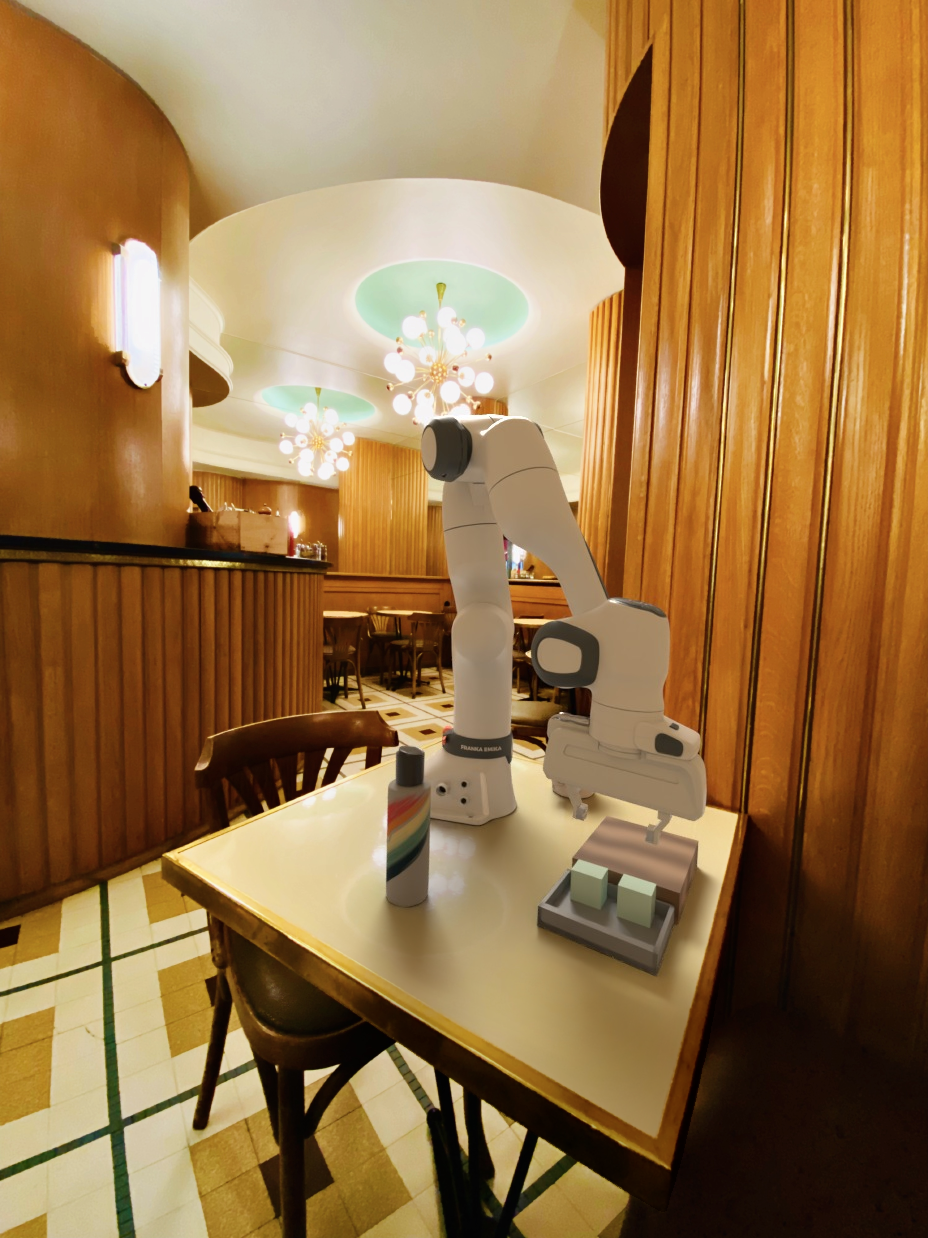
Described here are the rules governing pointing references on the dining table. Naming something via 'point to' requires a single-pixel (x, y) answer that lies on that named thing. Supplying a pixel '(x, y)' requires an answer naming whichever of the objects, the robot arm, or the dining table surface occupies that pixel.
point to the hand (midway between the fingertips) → (614, 829)
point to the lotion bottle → (408, 830)
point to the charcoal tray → (607, 926)
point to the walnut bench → (643, 858)
